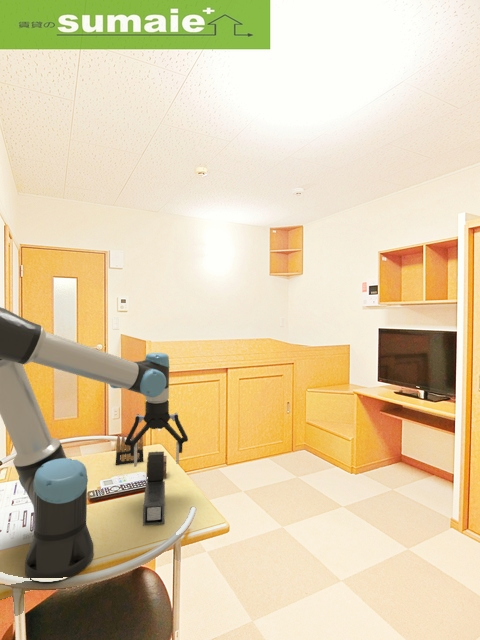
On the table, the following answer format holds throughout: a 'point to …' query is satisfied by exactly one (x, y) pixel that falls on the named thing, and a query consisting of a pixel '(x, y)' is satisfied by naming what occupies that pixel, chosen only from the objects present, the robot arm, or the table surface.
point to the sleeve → (154, 501)
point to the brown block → (164, 467)
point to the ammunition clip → (128, 451)
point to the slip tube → (155, 480)
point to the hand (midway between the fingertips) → (156, 463)
